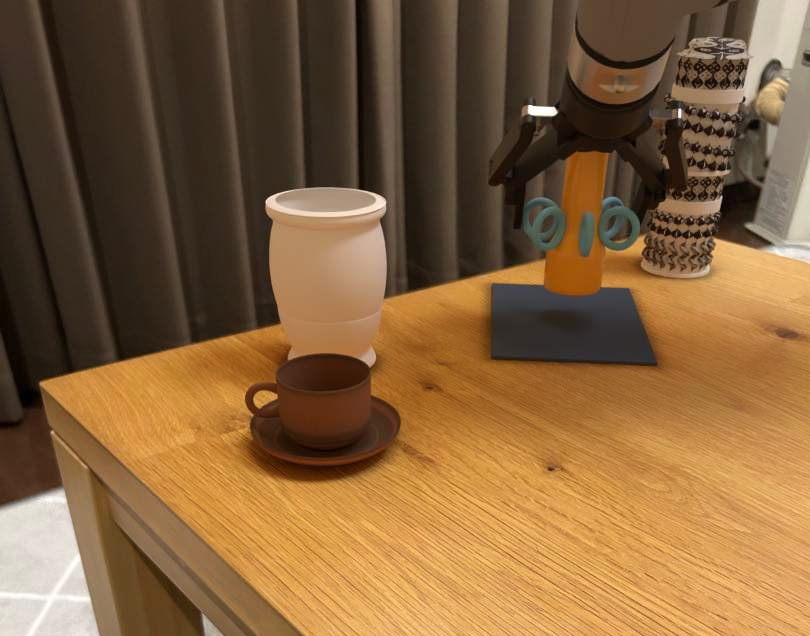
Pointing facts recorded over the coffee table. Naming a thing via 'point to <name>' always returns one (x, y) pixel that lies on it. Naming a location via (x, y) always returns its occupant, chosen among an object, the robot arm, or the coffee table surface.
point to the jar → (328, 269)
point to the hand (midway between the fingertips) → (575, 219)
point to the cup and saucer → (322, 412)
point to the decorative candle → (699, 156)
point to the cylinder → (579, 227)
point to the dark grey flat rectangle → (568, 326)
